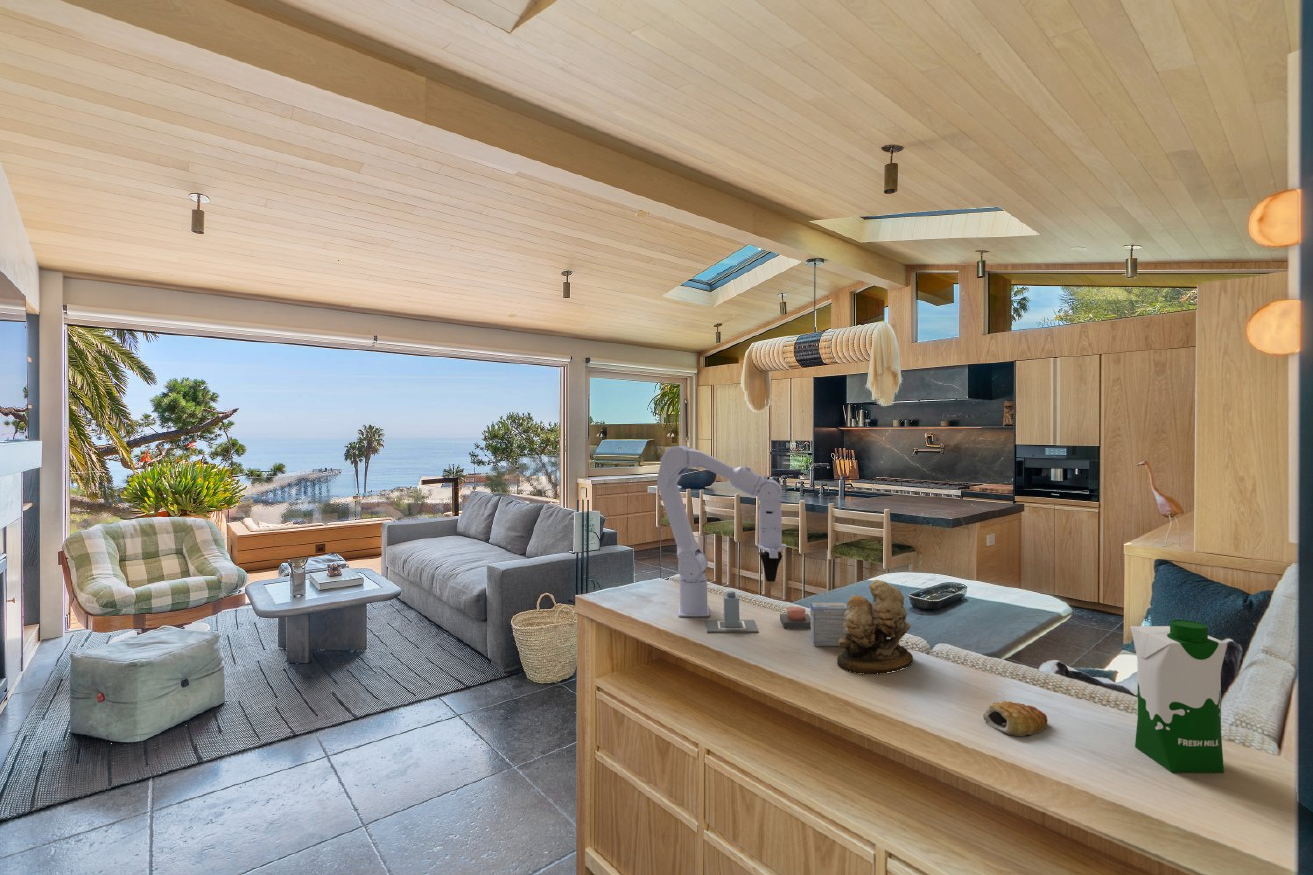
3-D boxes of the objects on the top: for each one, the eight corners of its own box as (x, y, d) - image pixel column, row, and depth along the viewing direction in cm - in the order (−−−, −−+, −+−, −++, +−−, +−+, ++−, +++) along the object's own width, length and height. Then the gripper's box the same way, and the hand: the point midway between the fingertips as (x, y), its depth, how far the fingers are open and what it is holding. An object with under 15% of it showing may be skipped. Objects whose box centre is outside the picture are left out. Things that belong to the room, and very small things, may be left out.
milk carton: (1170, 776, 86) (1169, 629, 85) (1123, 743, 95) (1122, 610, 94) (1237, 776, 85) (1236, 629, 85) (1183, 743, 94) (1182, 610, 94)
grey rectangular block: (724, 622, 156) (723, 590, 156) (738, 622, 156) (737, 590, 155) (724, 627, 152) (724, 594, 152) (739, 627, 152) (738, 594, 152)
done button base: (779, 619, 159) (779, 613, 159) (808, 619, 158) (808, 613, 158) (784, 628, 152) (784, 622, 152) (813, 628, 151) (813, 622, 151)
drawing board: (706, 621, 159) (706, 619, 159) (754, 621, 158) (754, 619, 158) (707, 632, 150) (707, 630, 150) (758, 632, 149) (758, 630, 149)
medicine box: (846, 640, 143) (845, 602, 143) (850, 647, 138) (849, 607, 138) (810, 640, 143) (809, 601, 143) (813, 646, 139) (812, 607, 139)
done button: (785, 615, 157) (785, 606, 157) (803, 615, 157) (803, 606, 157) (788, 620, 153) (788, 611, 153) (807, 620, 153) (806, 611, 153)
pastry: (1023, 713, 106) (1023, 691, 106) (1060, 732, 99) (1060, 708, 99) (979, 722, 103) (979, 699, 103) (1014, 742, 96) (1014, 717, 96)
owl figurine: (883, 646, 139) (883, 568, 139) (930, 663, 129) (930, 579, 129) (822, 661, 130) (822, 578, 130) (868, 681, 120) (867, 591, 120)
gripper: (790, 532, 154) (790, 588, 154) (782, 523, 168) (782, 574, 168) (761, 532, 154) (761, 587, 154) (755, 523, 168) (755, 574, 169)
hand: (770, 580), depth 161 cm, fingers closed
